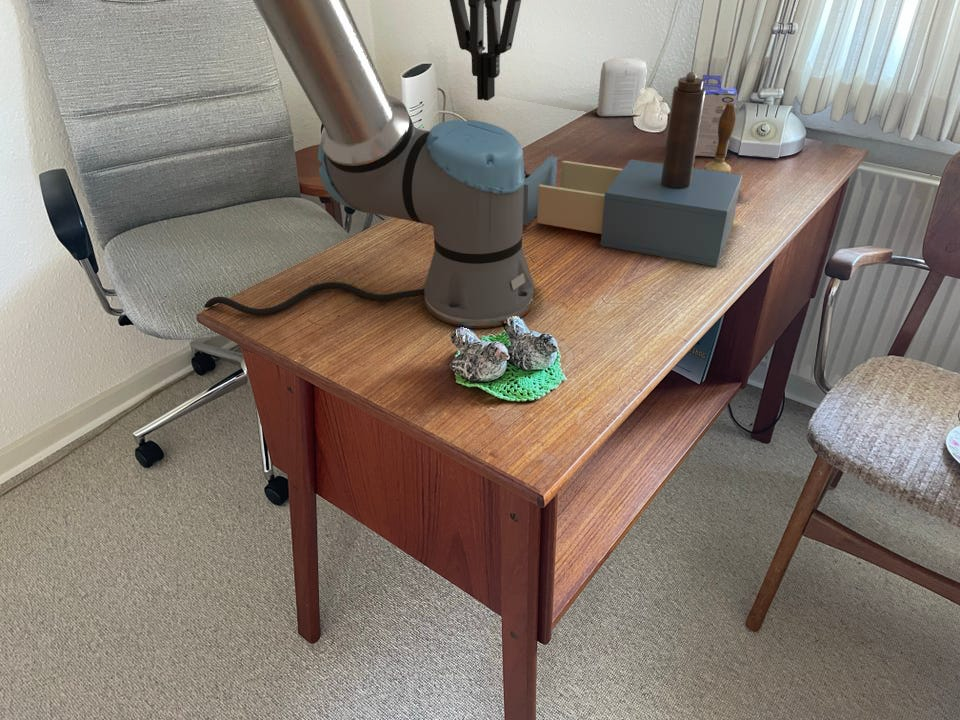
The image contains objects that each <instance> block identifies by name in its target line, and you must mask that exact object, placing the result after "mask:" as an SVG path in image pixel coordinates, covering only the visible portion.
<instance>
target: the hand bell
mask: <svg viewBox="0 0 960 720" xmlns="http://www.w3.org/2000/svg"><path fill="white" fill-rule="evenodd" d="M736 115H737V114H736V105H735V104H733V103H727V105H726V107H725V109H724V111H723V113H722V115H721V117H720V120H719V125H718V137H719V141H718V146H717V150H716V154H715V157H713V161H709V162H707V163H706V164H704V167H703V169H704V170H711V171H718V172H726V173H732V167H731V166H730V164H728V163H726V162H725V158H726V157H727V154H725V153H726V150H727V151H728V148H727V144H728V145H729V143H728V141H729V142H730V138H731V136H732V135H733V132H734V129H735V126H736V120H737V119H736V118H737V117H736ZM725 156H726V157H725Z"/></svg>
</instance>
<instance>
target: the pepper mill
mask: <svg viewBox="0 0 960 720" xmlns="http://www.w3.org/2000/svg"><path fill="white" fill-rule="evenodd" d="M702 86H703V80H702V78H699V77H697V74H696V73H695V72H694V71H689V72H688V73H687V74H686V76H685V77H684V76H683V77H680V78H679V79H677V85H676V86H674V87H673V90H672V96H671V98H672V99H671V103H670V105H671V106H670V112H669V120H668V126H667V133H666V134H667V135H666V140H665V143H666V144H665V149H664V156H663V162H662V164H663V170H662V178H661V184H662V185H663V186H665V187H668V188H673V189H683V188H687V187H689V186H690V184H691V178H692V172H693V168H694V164H695V159H696V156H695V153H696V147H697V141H698V134H699V128H700V122H701V116H702V109H703V103H704V97H705V91H706V90H705V89H704V88H703V87H702Z"/></svg>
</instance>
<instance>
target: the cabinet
mask: <svg viewBox="0 0 960 720" xmlns="http://www.w3.org/2000/svg"><path fill="white" fill-rule="evenodd" d="M622 169H623V170H622V172H621V173H620V174H619V175H618V177H617V178H616V179H615V181H614V182H613V183H612V184H611V186H610V187H609V188H608V190H607V191H606V192H605V199H604V210H603V222H602V233H601V234H600V244H599V245H600V246H601V247H604V248H605V247H606V248H611V249H616V250H621V251H628V252H633V253H639V254H645V255H649V256H656V257H661V258H666V259H672V260H677V261H678V260H679V261H683V262H689V263H695V264H699V265H706V266H710V267H717V266H718V264H719V262H720V259H721V256H722V253H723V251H724V249H725V246H726V244H727V241H728V238H729V236H730V233H731V231H732V228H733V224H734V220H735V215H736V211H737V204H738V201H739V200H738V199H739V196H740V190H741V186H742V180H743V174H740V173H732V172H731V173H726V172H718V171H711V170H704V168H703V169H702V168H696V167H693V172H692V178H691V184H690V186H689V187H687V188H683V189H673V188H668V187H665V186H663V185H662V184H661V178H662V170H663V163H659V162H652V161H646V160H645V161H644V160H636V159H629V161H628V162H627V164H626V165H625V166H624V168H622Z"/></svg>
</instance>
